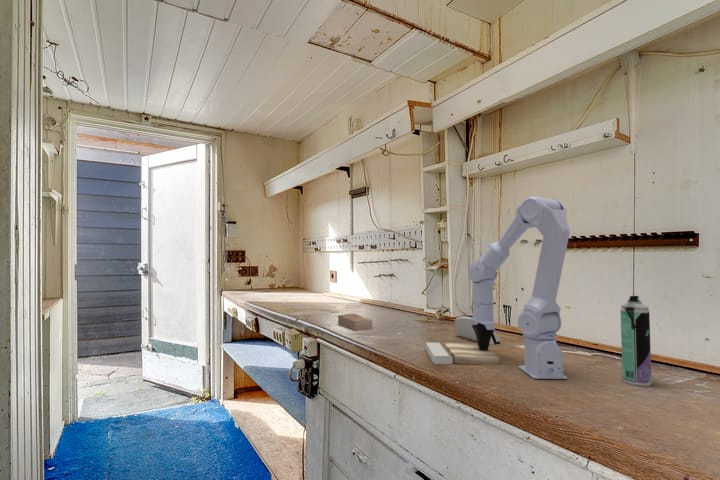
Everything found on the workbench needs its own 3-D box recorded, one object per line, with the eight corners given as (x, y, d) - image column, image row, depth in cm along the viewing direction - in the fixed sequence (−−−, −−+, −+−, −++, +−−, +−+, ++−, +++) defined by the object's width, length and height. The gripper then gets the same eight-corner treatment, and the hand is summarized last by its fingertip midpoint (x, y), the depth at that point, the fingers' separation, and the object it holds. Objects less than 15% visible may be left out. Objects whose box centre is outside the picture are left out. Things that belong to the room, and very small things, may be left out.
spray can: (653, 388, 85) (650, 297, 86) (623, 383, 88) (620, 296, 89) (650, 381, 89) (647, 295, 90) (621, 377, 92) (619, 294, 93)
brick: (373, 330, 153) (373, 318, 153) (355, 332, 149) (355, 319, 149) (354, 323, 168) (354, 313, 168) (337, 325, 164) (337, 314, 164)
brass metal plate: (499, 364, 103) (499, 357, 103) (454, 363, 104) (454, 355, 104) (482, 350, 119) (482, 343, 119) (443, 349, 120) (443, 342, 120)
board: (452, 364, 104) (452, 354, 104) (434, 364, 104) (433, 354, 104) (441, 349, 120) (441, 341, 120) (425, 349, 120) (425, 341, 120)
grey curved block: (502, 343, 128) (494, 316, 127) (493, 349, 126) (485, 321, 125) (467, 334, 143) (460, 309, 142) (458, 340, 141) (451, 314, 140)
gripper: (463, 300, 119) (463, 344, 119) (475, 306, 105) (476, 356, 104) (485, 300, 119) (486, 344, 119) (501, 306, 105) (502, 356, 104)
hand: (483, 350), depth 111 cm, fingers closed, pressing on brass metal plate
